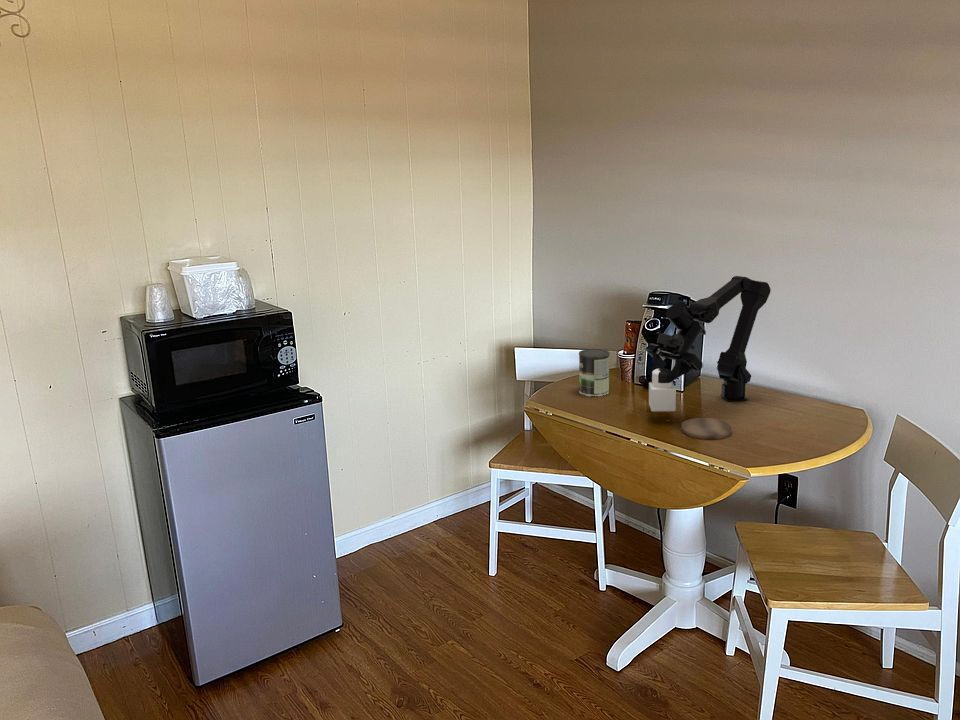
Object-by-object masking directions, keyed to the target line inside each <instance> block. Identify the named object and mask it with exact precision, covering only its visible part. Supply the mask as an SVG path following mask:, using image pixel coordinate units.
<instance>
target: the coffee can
mask: <svg viewBox="0 0 960 720" xmlns="http://www.w3.org/2000/svg"><path fill="white" fill-rule="evenodd" d="M578 358H579V359H578V360H579V361H578V363H579V365H578V368H579V369H578V373H579V374H578V377H579V378H578V381H579V384H578V386H579V387H578V393H579V395H582V396H586V397H591V396H595V398H596V396H598V397H603V395H604V396H606V394H607V395H609V392H610V390H609V389H610V388H609V387H610V386H609V385H610V351H608V350H606V349H602V348H587V349H582V350H580V351H578Z"/></svg>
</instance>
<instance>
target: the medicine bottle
mask: <svg viewBox="0 0 960 720" xmlns="http://www.w3.org/2000/svg"><path fill="white" fill-rule="evenodd" d="M671 371H672V370H671V369H669V368H665V367H664V368H658V369H655V370H653V372H652V378H651V382H648V406H649V409H650V410H651V412H676V407H677V406H676V405H677V402H676V401H677V389H676V388H677V387H675V386H676V385H674V380H673V381H672V382H670V383H667V382H666V380H667V378H668V376H669V374H670V373H671Z"/></svg>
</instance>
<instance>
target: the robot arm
mask: <svg viewBox="0 0 960 720" xmlns="http://www.w3.org/2000/svg"><path fill="white" fill-rule="evenodd" d="M771 291H772V289H771V286H770V284H769V283H768V282H766V281H761V280H760V281H759V280H753V279H751V278H749V277H747V276H742V275H741V276H740V275H735V276H733V277H731V280H729V281H728V282H727V283H725V284H724V285H723V286H721V287H720V288H719V289H718V290H717V291H715V292H714V293H712V294H711V295H710V296H707V297H705V298H700V299H698V300H696V301H693V302H692V303H691V304H690V306H688V305H687V303H686V302H685V301H684V300H683V301H682V300H678V301H677V303H674V304H672V305H670V307H668V308H667V310H666V312H665V316H666V318H667V319H668V320H669V321H670V322H671V325H673V326H674V327H675V328H676V329H677V330H678V331H677V333H673V334H666V333H662V332H659V334H658V337H657V339H656V340H657V341H656V343H652V342H651V343H649V344H647V346H646V348H644V349H645V352H647V353H648V354H649V355H650V357H651V358H652V361H653V362H652V368H651V370H650V371H651V372H650V375H649V376H650V378H651V379H652V372H653V370H655V369H658V368H665V367H666V366H667V363H666V362H665V360H666V359H670V360H673V361H675V362H674V366H673V367H672V370H671V373H670V374H669V376H668V378H667V380H666V382H667V383H670V382H672V381H673V382H674V381H676V380H677V379H678V378H679V377H682V376H683V375H685V374H687V373H692V371H693V372H694V371H695V372H698V373H700V372H701V370H702V368H703V367H704V366H703V365H704V364H703V361H702V360H701V359H700V358H699V357H698V356H697V355H696V354H695V353H691V352H690V350H691V351H693V350H695V346H694V345H695V342H696V341H697V339H698V338H699V336H700V335H704V336H705V335H706V334H707V333H706V329H705V328H706V327H705V325H702V324H701V323H704V324H710V323H712V322H713V321H714V320H715V319H716V318H717V317H718V316H719V314H720V310H721V309H722V308H723V307H724V306H726V304H728V303H730V301H732V300H734V298H736V297H737V296H738V295H739V294H740V300H741V305H742V307H741V309H740V311H739V312H740V313H739V316H738V319H737V323H736V325H735V328H734V332H733V335H732V338H731V340H730V344H729V347H728V349H727V350H726V351H721V352H720V354H719V357H718V358H719V359H718V360H717V361H716V364H717V366H716V370H717V373H718V378H719V379H721V380H723V381H722V384H721V393H720V396H721V397H722V398H723V399H724V400H725V401H726V402H741V401H747V400H748V398H747V397H746V384H748V383H750V382H751V378H752V374H751V373H750V372H749V370H747V363H748V361H747V356H746V350H747V347H748V343H749V340H750V338H751V334H752V331H753V329H754V324H755V321H756V318H757V315H758V312H759V310H761V308H762V307H763V306H764V305H765V304H766V303H767V301H768V299H769V296H770V294H771ZM700 322H701V323H700ZM660 345H663V347H662V346H660ZM665 349H666V350H665Z"/></svg>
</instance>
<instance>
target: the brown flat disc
mask: <svg viewBox="0 0 960 720" xmlns="http://www.w3.org/2000/svg"><path fill="white" fill-rule="evenodd" d="M680 430H681V433H682V434H684V435H685V434H686V436H687V435H688V436H689V437H690V438H693V437H694V439H699V440H705V441H706V440H708V441H710V440H711V441H713V440H721V439H726V438H728V437H730V436H731V435H732V425H731V424H730V423H728V422H727V421H724V420H721V419H717V418H713V417H711V418H710V417H695V418H689V419H686V420H684V421H682V422H681V429H680Z"/></svg>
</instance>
